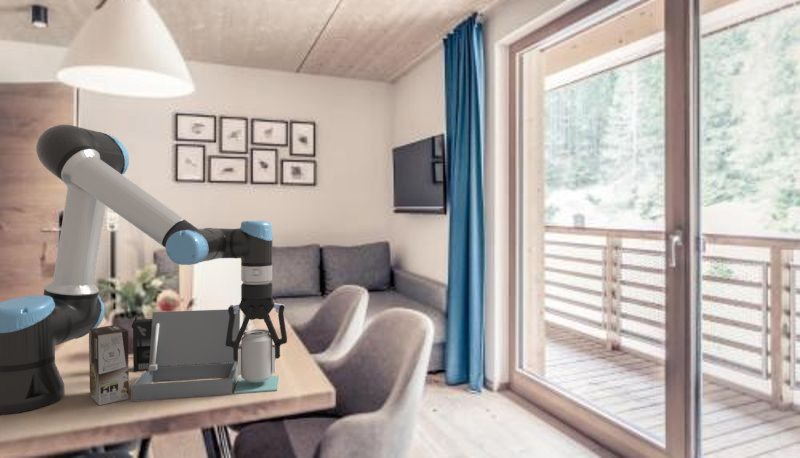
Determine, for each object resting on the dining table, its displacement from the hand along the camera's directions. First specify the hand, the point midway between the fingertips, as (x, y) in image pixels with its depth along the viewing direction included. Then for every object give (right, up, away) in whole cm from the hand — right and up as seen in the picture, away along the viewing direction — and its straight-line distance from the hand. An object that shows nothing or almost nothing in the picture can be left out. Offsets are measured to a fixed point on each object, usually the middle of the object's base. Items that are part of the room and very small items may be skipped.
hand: (257, 371), depth 120 cm
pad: (0, -3, 0) cm, 3 cm away
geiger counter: (-33, -3, +13) cm, 36 cm away
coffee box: (-32, -4, -8) cm, 34 cm away
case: (-17, -3, +1) cm, 17 cm away
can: (0, -2, 0) cm, 2 cm away
